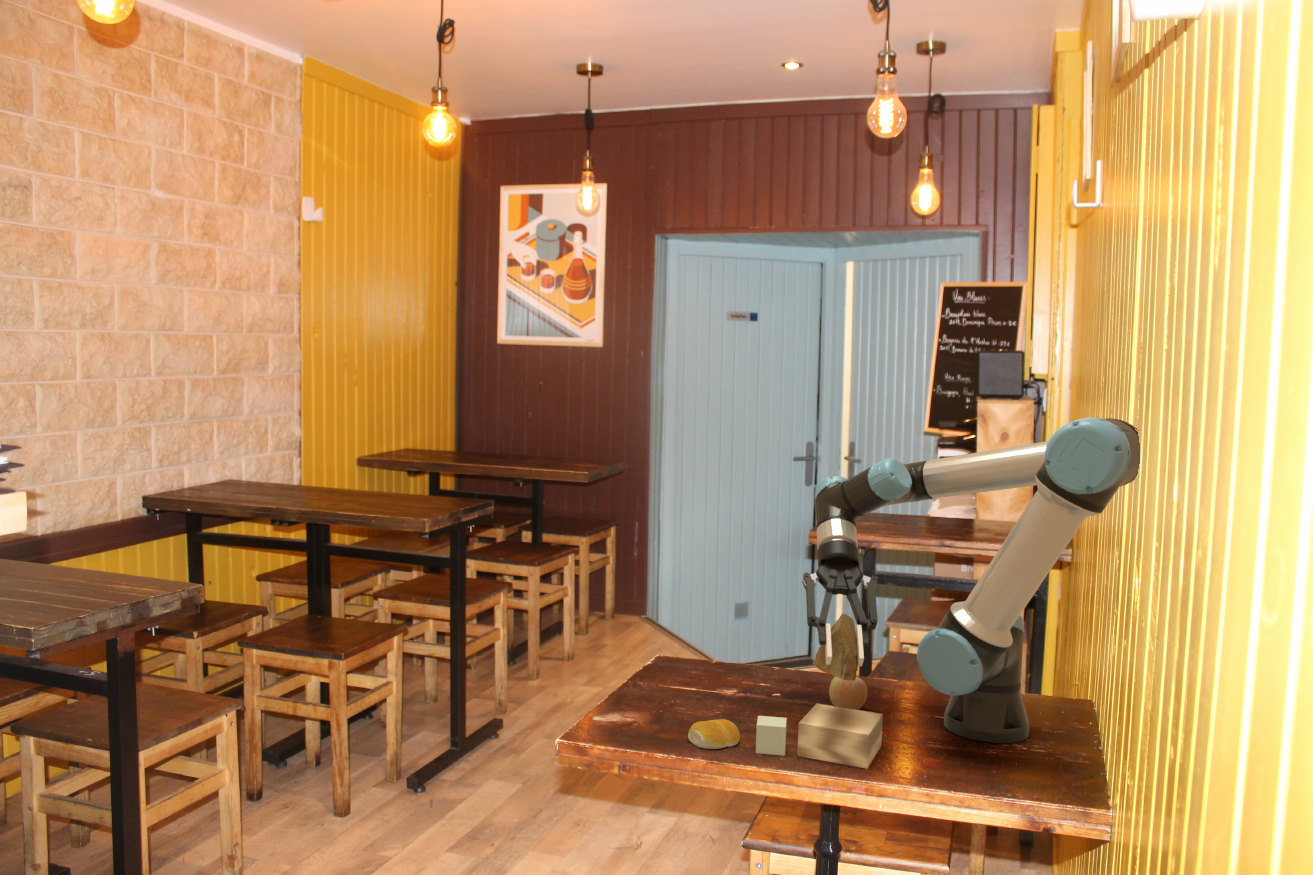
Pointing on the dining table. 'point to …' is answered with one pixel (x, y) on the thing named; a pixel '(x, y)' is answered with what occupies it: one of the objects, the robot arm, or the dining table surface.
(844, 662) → the rock
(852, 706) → the fruit
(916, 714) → the dining table surface
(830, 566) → the robot arm
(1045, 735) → the dining table surface
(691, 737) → the bread roll
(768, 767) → the dining table surface
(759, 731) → the pale cream cube
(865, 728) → the beech block
